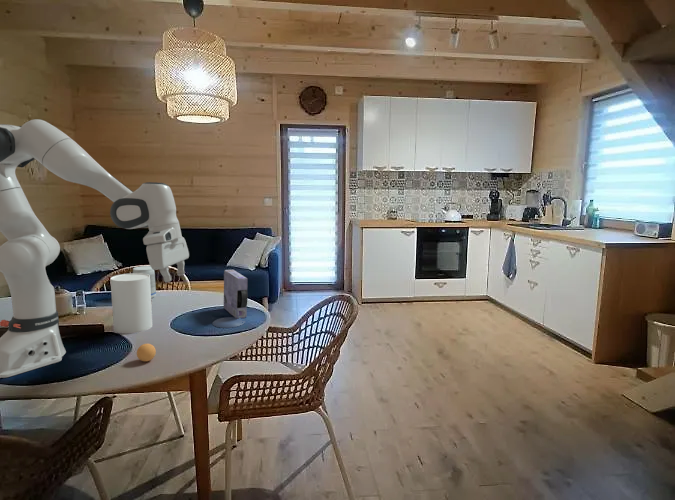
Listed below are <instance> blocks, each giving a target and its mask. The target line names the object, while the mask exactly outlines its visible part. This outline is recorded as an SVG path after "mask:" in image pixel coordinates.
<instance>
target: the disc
mask: <svg viewBox="0 0 675 500" xmlns="http://www.w3.org/2000/svg"><path fill="white" fill-rule="evenodd" d="M242 322H243V323H242ZM244 323H245V324H246V320H245V321H242V320H240V319H239V320H237V318H235V317H234V316H230V317H229V316H226V317H221V318H216V319H215V320H214V321H212V326H213V325H214V326H213V327H215V326H216V328H219V327H220V329H230V328H231V329H232V327H233V328H237V326H238V327H241V326H243V325H245V324H244ZM240 325H241V326H240Z"/></svg>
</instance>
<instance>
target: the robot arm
mask: <svg viewBox="0 0 675 500" xmlns="http://www.w3.org/2000/svg"><path fill="white" fill-rule="evenodd" d="M35 160H36V161H37V162H38V163H40V164H41V165H42V166H43V167H44V168H45V169H47V170H48V171H49V172H50V173H52V174H54V175H56V177H59V178H61V179H63V180H64V181H67V182H70V183H74V184H78V185H82V186H86V187H89V188H92V189H94V190H96V191H98V192H99V193H101V194H102V195H104V196H105V197H107V198H108V199H109V200H110V201H111V202H113V203H112V204H111V206H110V210H109V215H110V218H111V220H112V222H113V223H114V224H115V225H116V226H117V227H119V228H122V229H124V230H125V229H126V230H133V229H134V230H135V229H147V228H148V230H149V231H148V232H147V233H146V234H145V235H144V237H143V238H142V242H143V245H145V246H146V249H145V250H146V255H147V259H148V262H149V266H151V268H152V269H153V270H154V271H157V270H159V272H160V274H161V276H162V277H163V281H164V282H165V283H170V282H171V281H172V280H173V278H172V274H170V272H169V270H170V269H169V267H171V266H173V265H175V264H176V265H177V270H176V274H177V276H178V277H181V276H184V275H185V264H186V263H185V260H188V259H189V257H190V251H189V248H188V245H187V242H186V239H185V237H183V236H182V230H181V225H180V221H179V219H178V216H177V206H176V201H175V197H174V193H173V191H172V189H171V187H170V186H169V185H168V184H167V183H164V182H157V181H156V182H154V181H146V182H143V183H142V184H141V185H140V186H139V187H138V188H137V189H136V190H134V191H133V190H131V189H130V188H129V187H128V186H126V185H125V184H124V183H122V182H121V181H120V180H119V179H117V178H116V177H114V176H113V174H111V173H109V171H107V169H105V168H104V167H103V166H101V165H100V164H99V162H97V161H96V159H94V158H93V157H92V156H91V155H90V154H89V153H88V152H87V151H86V150H85V149H84V148H83V147H81V146H80V145H79V144H78V142H76V141H75V140H74V139H72V138H71V136H68V134H66V133H65V132H63V131H62V130H61V129H59V128H58V127H57V126H55V125H52V124H51V123H49V122H48V121H46V120H43V119H40V118H39V119H37V118H36V119H35V118H34V119H31V120H28V121H26V122H24V124H22V125H14V124H8V123H7V124H4V123H0V233H1V235H3V236H4V238H6V241H5V242H4V243H3V244H1V245H0V273H1V274H2V275H3V277H4V279H5V281H6V284H7V286H8V288H9V293H10V296H11V305H12V314H13V315H12V317H11V318H10V319H11V320H6V319H2V320H0V327H4V328H8V329H7V331H6V332H5V333H3V335H1V337H0V379H1V378H3V379H5V378H9V377H13V376H17V375H20V374H23V373H26V372H29V371H33V370H36V369H39V368H42V367H45V366H49V365H52V364H56V363H59V362H61V361H62V359H63V357H64V355H65V354H66V353H67V351H66V348H65V347H64V344H63V340H62V337H61V334H60V329H59V326H60V325H59V323H60V319H59V317H60V316H59V311H58V310H57V305H56V293H55V287H54V286H53V285H52V283H51V281H50V279H49V277H48V275H47V270H46V267H47V266H50V264H52V263H54V261H55V260H56V259H58V256H59V255H60V252H61V245H60V243H59V242H58V240H57V239H56V237H54V236H52V235H51V233H49V232H48V230H47V229H46V227H45V226H44V224H43V223H42V222H41V221H40V219H39V218H38V217H37V216H36V214H35V212H34V210H33V208H32V206H31V204H30V202H29V201H28V198H27V196H26V194H25V193H24V190H23V188H22V186H21V184H20V182H19V180H18V178H17V175H16V169H17V168H24V167H26V166H27V165H29V164H30V163H31V162H33V161H35Z"/></svg>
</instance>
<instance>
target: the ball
mask: <svg viewBox="0 0 675 500" xmlns="http://www.w3.org/2000/svg"><path fill="white" fill-rule="evenodd" d="M156 352H157V350H156V348H155V346H154V345H153V344H151V343H143V344H141V345H140V346H139V347H138V349H137V351H136V357H137V359H138V360H140V361H141V362H146V363H147V362H149V361H152V360H153V359H154V358H155V356H156V354H157V353H156Z"/></svg>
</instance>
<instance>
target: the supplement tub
mask: <svg viewBox="0 0 675 500" xmlns="http://www.w3.org/2000/svg"><path fill="white" fill-rule="evenodd" d="M132 273H143V274H149V275H150V286H151V299H152V298H155V297H156V296H157V290H156V288H157V287H156V274H155V270H153V269H152V268H151V266H150V265H141V266H136V267H133V268H132Z"/></svg>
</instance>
